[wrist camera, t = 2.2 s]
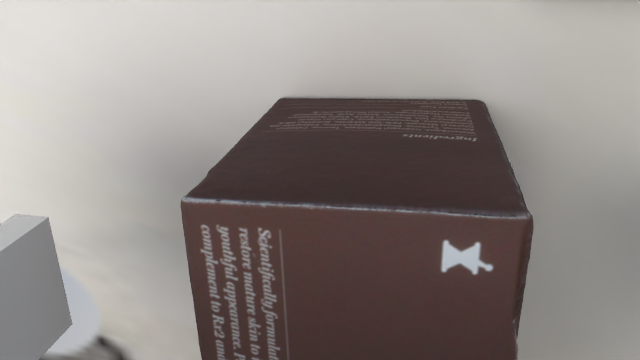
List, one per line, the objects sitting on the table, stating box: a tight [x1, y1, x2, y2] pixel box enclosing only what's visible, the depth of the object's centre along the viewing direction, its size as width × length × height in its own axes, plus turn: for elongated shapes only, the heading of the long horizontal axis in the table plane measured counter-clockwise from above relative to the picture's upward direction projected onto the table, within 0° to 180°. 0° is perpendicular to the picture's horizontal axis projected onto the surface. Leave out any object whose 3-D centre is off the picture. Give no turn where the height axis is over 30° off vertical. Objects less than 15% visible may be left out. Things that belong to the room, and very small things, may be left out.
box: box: [181, 98, 533, 360], centre depth 13 cm, size 6×6×7 cm
